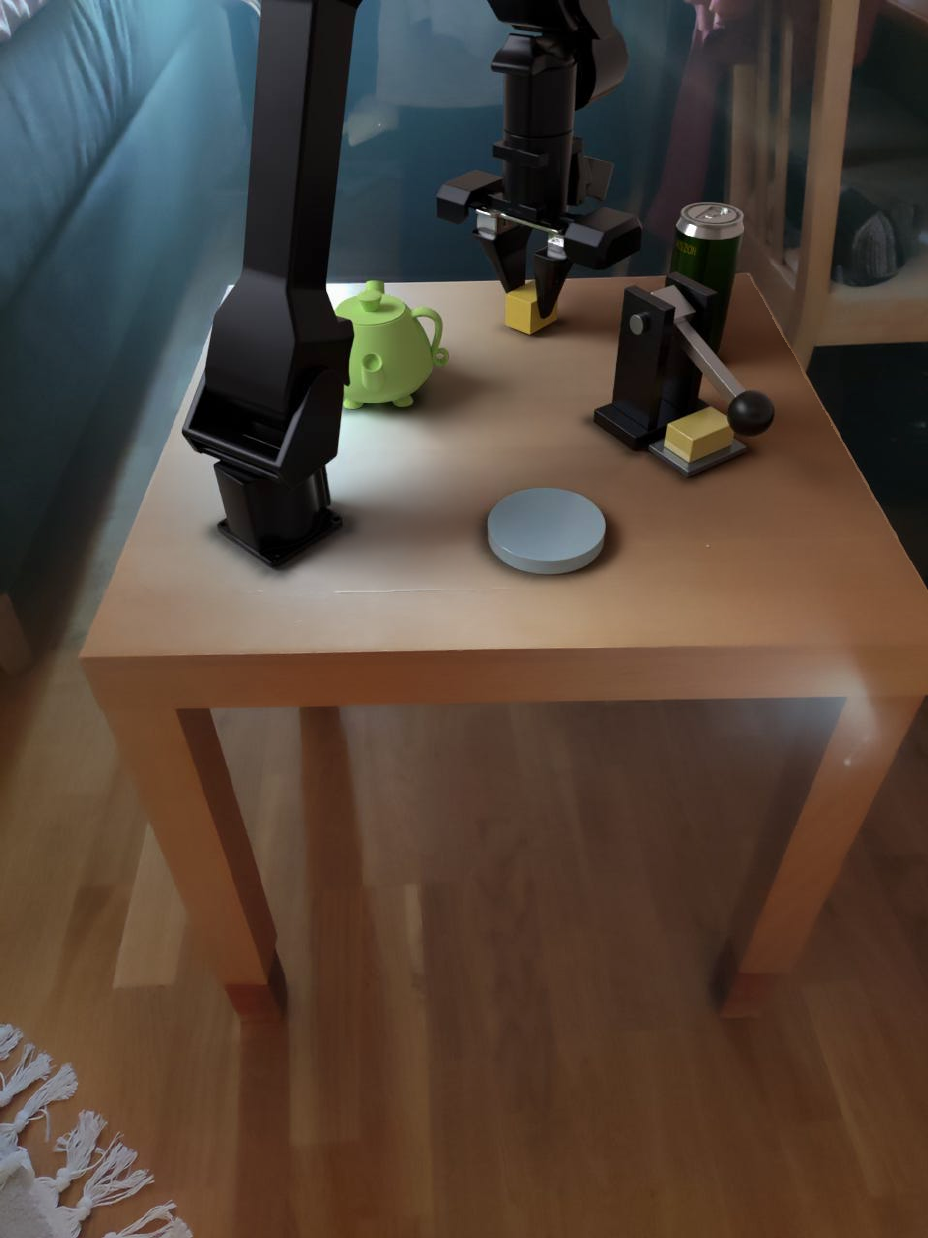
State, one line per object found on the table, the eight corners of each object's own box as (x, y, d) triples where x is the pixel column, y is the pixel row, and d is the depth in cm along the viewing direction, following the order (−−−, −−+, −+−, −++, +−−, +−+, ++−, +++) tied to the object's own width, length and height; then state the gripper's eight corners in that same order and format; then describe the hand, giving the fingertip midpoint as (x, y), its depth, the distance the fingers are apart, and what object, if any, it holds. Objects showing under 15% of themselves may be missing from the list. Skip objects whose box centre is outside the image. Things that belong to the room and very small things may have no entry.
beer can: (695, 373, 76) (721, 231, 68) (645, 352, 79) (664, 213, 71) (731, 352, 79) (760, 212, 71) (681, 332, 82) (703, 196, 73)
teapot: (472, 386, 76) (471, 289, 70) (374, 443, 70) (364, 343, 64) (381, 345, 81) (373, 252, 75) (283, 395, 75) (266, 298, 69)
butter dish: (745, 451, 68) (752, 423, 66) (687, 477, 66) (692, 449, 64) (705, 426, 71) (710, 398, 69) (647, 450, 68) (652, 421, 67)
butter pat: (529, 334, 81) (531, 303, 79) (505, 324, 83) (505, 293, 81) (556, 319, 84) (558, 288, 81) (532, 310, 85) (533, 279, 83)
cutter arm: (769, 437, 63) (792, 408, 61) (737, 452, 62) (758, 422, 59) (664, 311, 67) (681, 278, 65) (632, 322, 66) (647, 289, 63)
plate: (555, 591, 57) (556, 577, 56) (463, 539, 61) (463, 526, 60) (627, 532, 61) (629, 518, 60) (537, 487, 65) (537, 473, 64)
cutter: (710, 419, 71) (736, 288, 64) (633, 451, 68) (651, 317, 61) (667, 392, 74) (688, 264, 67) (592, 422, 71) (605, 291, 64)
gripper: (692, 124, 71) (665, 311, 82) (513, 85, 80) (510, 258, 91) (610, 160, 65) (593, 356, 76) (428, 114, 74) (436, 294, 85)
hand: (531, 311), depth 82 cm, fingers closed on butter pat, 3 cm apart
